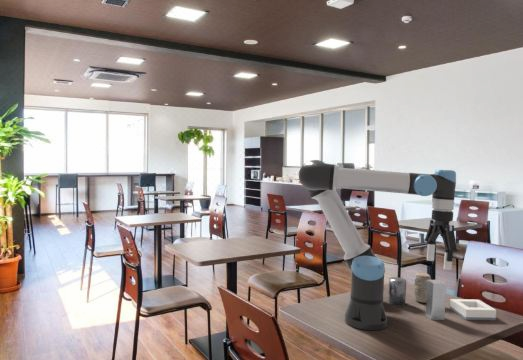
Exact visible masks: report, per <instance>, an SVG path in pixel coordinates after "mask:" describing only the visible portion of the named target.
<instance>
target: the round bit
mask: <svg viewBox="0 0 523 360" xmlns="http://www.w3.org/2000/svg"><path fill="white" fill-rule="evenodd" d="M406 297H407V279H405V278H403V277H397V276H395V277H393V276H392V277H389V278H388V296H387V303H388V304H389V305H391V306H397V307H398V306H399V307H402V306H405V305H406Z"/></svg>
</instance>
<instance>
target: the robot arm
mask: <svg viewBox="0 0 523 360" xmlns="http://www.w3.org/2000/svg"><path fill="white" fill-rule="evenodd" d="M298 179H299V180H298V181H299V182H300V184H301V186H302V187H303V188H305V189H306V190H307V192H308V194H309V196H310V198H311V199H313V200H315V201H316V202H317V203H318V205H319V206H320V209H321V211H322V212H323V214H324V216H325V218H326V220H327V222H328V224H329V226H330V228H331V230H332V231H333V234H334V235H335V237H336V238H337V242H339V244H340V246H341V248H342V250H343V252H344V255H343V260H344V262H345V264H346V265H347V267H348V269H349V272H350V275H351V276H350V298H349V303H348V304H347V308H346V311H345V313H344V321H345V323H346V324H347V325H348V326H350V327H354V328H356V329H358V330H359V329H360V330H363V331H379V330H384V329H386V327H387V326H388V318H387V314H386V311H385V306H384V290H385V286H384V285H385V273H386V267H385V263H384V261H383V260H382V259H381V258H378V257H377V256H376V255H375V253H374V251H373V249H372V247H371V245H369V244H366V243H365V242H364V240H363V239H362V236H361V235H360V233H359V231H358V229H357V228H356V226H355V224H354V222H353V220H352V218H351V216H350V214H349V211H347V208H346V206H345V205H344V203H343V201H342V199H341V198H340V196H339V194H338V192H337V189H347V190H358V191H359V190H360V191H368V192H371V191H372V192H382V193H394V194H405V195H412V196H413V195H415V196H420V197H428V196H431V195H433V196H432V205H431V206H432V207H431V208H432V210H431V219H430V221H429V226H428V229H427V232H426V234H425V238H424V241H425V242H426V244H427V248H426V250H427V251H426V261H429V262H431V261H432V262H435V251H436V241H437V240H438V238H439V236H440V237H442V241H443V245H444V247H445V250H444V257H443V258H444V259H443V270H446V271H452V269H453V257H454V253H457V252H458V248H457V241H456V240H457V239H456V235H455V226H454V225H453V224H452V225H451V224H450V222H453V219H454V209H455V208H454V207H455V195H456V194H455V193H456V184H457V173H456V171H455V170H452V169H435V170H434V173H418V172H416V173H415V172H399V171H388V170H374V169H360V168H348V167H338V165H337V164H332V163H326V162H325V161H322V160H320V159H319V160H318V159H313V160H307V162H306V161H305V163H303V164H302V166H301V167H300V168H299V171H298Z"/></svg>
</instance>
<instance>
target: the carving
mask: <svg viewBox="0 0 523 360" xmlns="http://www.w3.org/2000/svg"><path fill="white" fill-rule="evenodd" d="M428 280H432V277H431V275H430V274H428V273H426V272H417V273H416V274H415V275H414V284H413V288H414V289H413V290H414V292H413V293H414V298H415V299H414V300H415V301H416V302H418V303H424V304H426V300H427V281H428Z"/></svg>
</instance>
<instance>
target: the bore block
mask: <svg viewBox="0 0 523 360" xmlns="http://www.w3.org/2000/svg"><path fill="white" fill-rule="evenodd" d="M449 309H450V310H451V311H453V312H454V313H455V314H456V315H458V316H459V317H461V318H462V319H464V320H465V321H496V320H497V309H495V308H493V307H492V306H490V305H489V304H487V303H485V302H484V301H482V300H481V299H472V298H471V299H467V298H466V299H464V298H450V299H449Z"/></svg>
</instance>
